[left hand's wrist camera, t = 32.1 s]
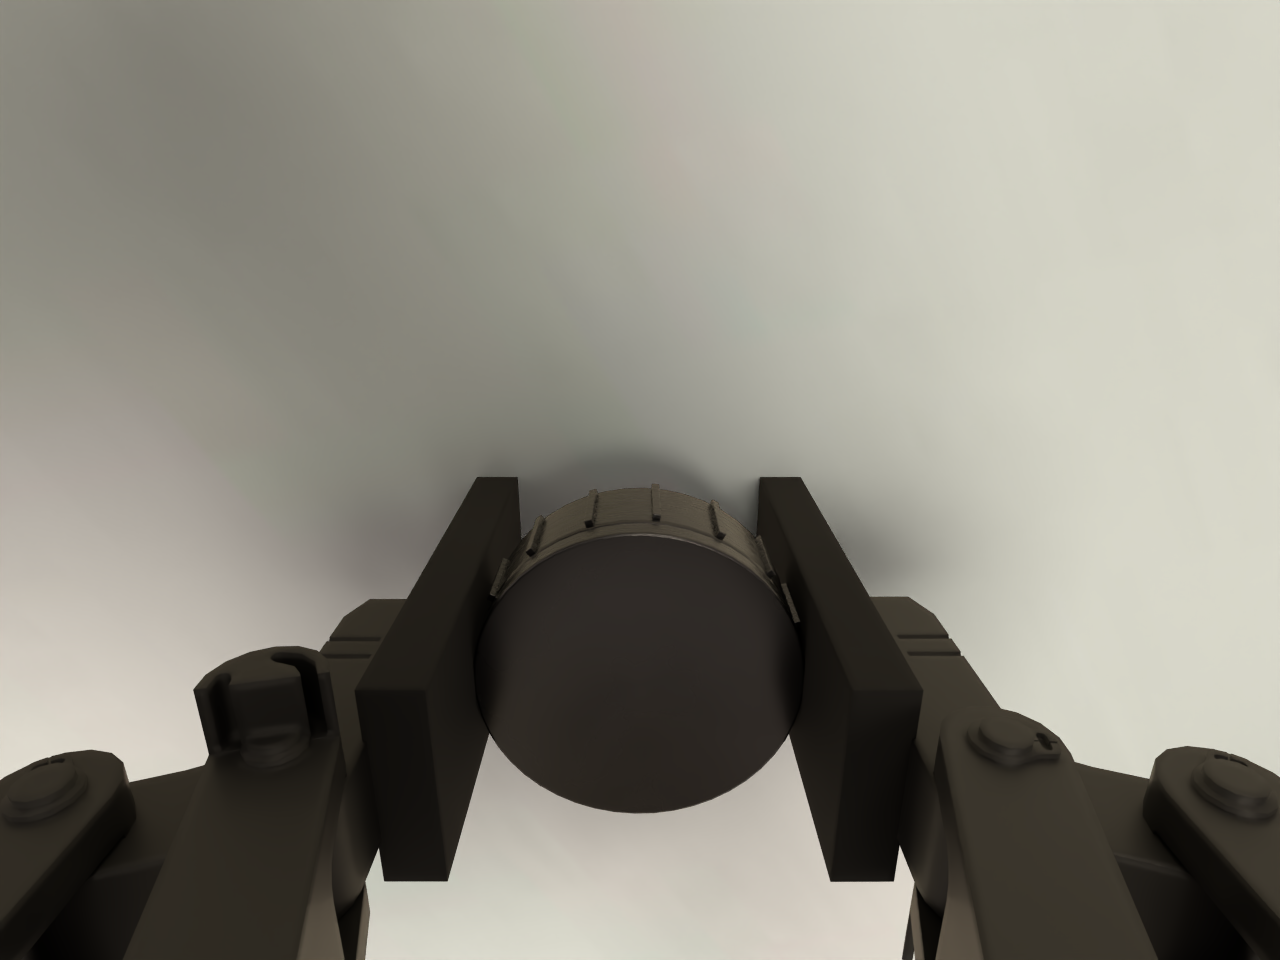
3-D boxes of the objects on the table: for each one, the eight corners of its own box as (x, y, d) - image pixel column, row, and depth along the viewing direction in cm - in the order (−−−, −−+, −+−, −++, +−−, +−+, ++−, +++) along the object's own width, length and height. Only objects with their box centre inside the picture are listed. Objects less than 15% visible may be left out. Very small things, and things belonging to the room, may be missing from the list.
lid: (583, 779, 13) (575, 858, 12) (434, 565, 12) (402, 623, 10) (833, 672, 12) (861, 742, 11) (706, 429, 11) (717, 469, 9)
